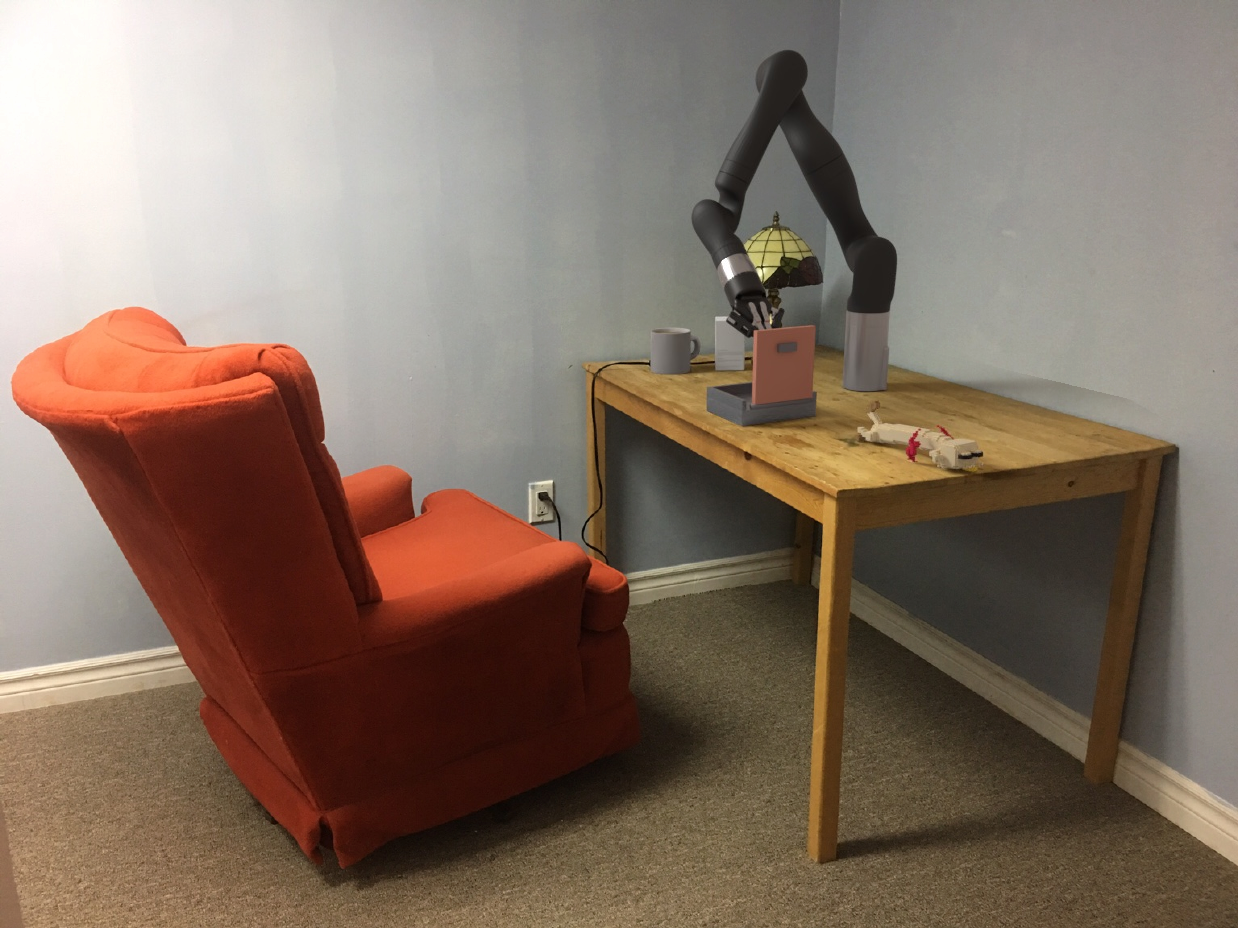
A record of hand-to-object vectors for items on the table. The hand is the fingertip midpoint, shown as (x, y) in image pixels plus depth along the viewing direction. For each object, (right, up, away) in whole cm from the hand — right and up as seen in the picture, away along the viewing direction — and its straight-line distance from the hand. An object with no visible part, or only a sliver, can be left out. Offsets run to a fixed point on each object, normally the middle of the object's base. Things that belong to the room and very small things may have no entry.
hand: (771, 351), depth 179 cm
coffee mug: (-15, +1, +51) cm, 53 cm away
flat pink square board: (+2, -10, -1) cm, 10 cm away
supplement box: (-2, +2, +53) cm, 53 cm away
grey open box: (-1, -12, +7) cm, 14 cm away
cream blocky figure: (+21, -21, -23) cm, 37 cm away
